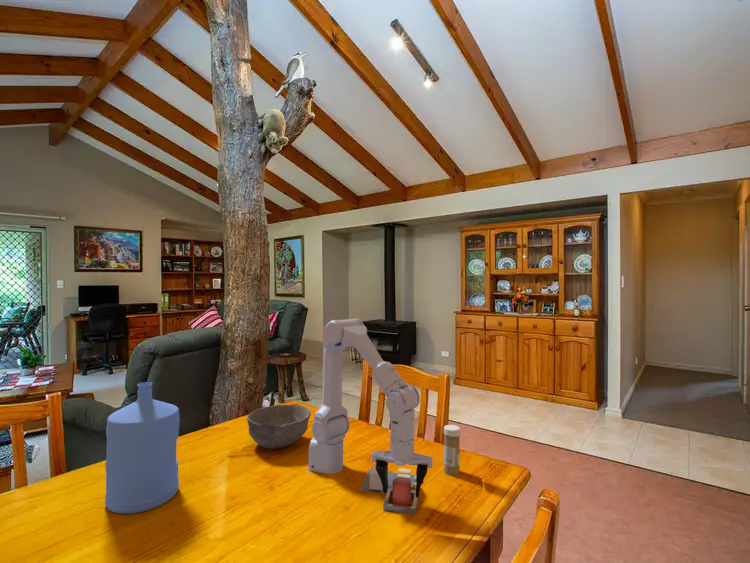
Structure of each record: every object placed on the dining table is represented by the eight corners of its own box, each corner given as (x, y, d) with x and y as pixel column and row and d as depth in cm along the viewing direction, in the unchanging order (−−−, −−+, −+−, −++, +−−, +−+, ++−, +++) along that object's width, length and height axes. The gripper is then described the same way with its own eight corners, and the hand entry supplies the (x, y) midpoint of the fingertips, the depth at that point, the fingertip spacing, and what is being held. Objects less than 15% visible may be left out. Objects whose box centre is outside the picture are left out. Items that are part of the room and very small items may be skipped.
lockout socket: (383, 513, 92) (383, 505, 92) (388, 496, 99) (388, 488, 99) (415, 517, 90) (415, 509, 90) (418, 499, 98) (418, 491, 98)
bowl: (282, 427, 144) (282, 400, 144) (323, 441, 132) (323, 411, 132) (232, 445, 127) (233, 415, 127) (274, 464, 115) (275, 430, 115)
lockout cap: (390, 510, 93) (391, 485, 93) (393, 500, 97) (393, 476, 97) (409, 513, 92) (409, 487, 92) (411, 502, 96) (411, 478, 96)
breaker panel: (359, 493, 100) (360, 486, 100) (368, 472, 111) (368, 466, 111) (418, 500, 97) (419, 493, 97) (422, 478, 108) (422, 472, 108)
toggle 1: (369, 489, 100) (369, 473, 100) (372, 480, 104) (373, 465, 104) (381, 490, 99) (382, 474, 99) (384, 481, 104) (384, 466, 104)
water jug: (147, 519, 88) (149, 394, 88) (87, 511, 91) (89, 390, 91) (191, 484, 103) (193, 378, 103) (139, 478, 106) (141, 374, 106)
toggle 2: (396, 492, 99) (397, 475, 99) (398, 483, 103) (399, 467, 103) (409, 493, 98) (409, 477, 98) (411, 484, 102) (411, 468, 102)
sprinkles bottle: (463, 476, 110) (463, 428, 110) (451, 480, 107) (452, 431, 107) (451, 469, 114) (452, 423, 114) (439, 473, 111) (440, 426, 111)
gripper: (369, 441, 92) (368, 498, 92) (431, 446, 89) (430, 506, 89) (375, 429, 99) (374, 483, 99) (433, 435, 96) (432, 490, 96)
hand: (401, 493), depth 95 cm, fingers open, 7 cm apart
